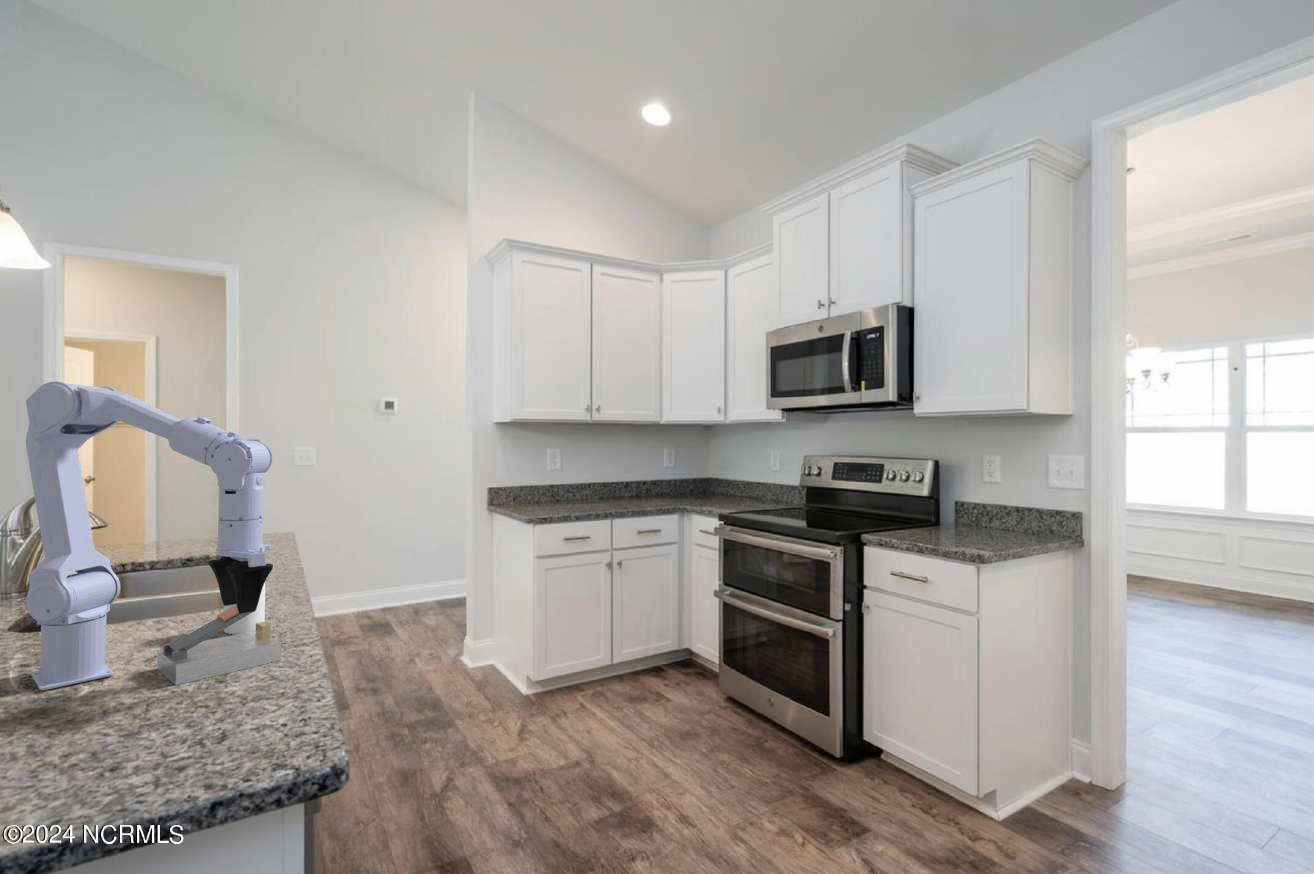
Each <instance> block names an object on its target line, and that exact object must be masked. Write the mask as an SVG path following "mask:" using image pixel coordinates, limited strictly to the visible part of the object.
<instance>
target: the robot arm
mask: <svg viewBox="0 0 1314 874" xmlns="http://www.w3.org/2000/svg"><path fill="white" fill-rule="evenodd" d="M25 403H26V404H25V405H26V410H27V411H26V412H27V417H28V423H29V424H28V429H27V433H26V437H25V447H26V453H27V454H26V455H27V459H28V463H29V464H28V465H29V470H30V477H31V482H32V490H33V494H34V495H33V497H34V500H35V508H36V513H37V519H38V524H39V525H38V527H39V530H40V531H39V532H40V536H41V542H42V544H41V545H42V548H43V555H44V559H43V560H42V561H41V562H40V563H39V564H38V565H37V566H36V567H35V568H34V569H33V570H32V571H30V573H29V574H28V583H29V586H28V587H29V588H28V591H27V594H26V599H25V607H26V609H27V612H28V614H29V615H30V616H31V617H32V618H33V619H34V621H36V625H38V626H39V625H40V650H39V651H40V654H39V655H40V656H39V657H40V660H39V661H40V663H39V666H40V667H39V670H35V671H33V672H31V673H30V676H31V678H32V679H33V681H34V682H35V684H36V686H37V688H38V689H39V691H45V690H46V691H47V690H51V689H57V688H61V687H65V686H70V685H75V684H79V683H84V682H88V681H93V680H97V679H103V678H108V677H111V676H113V675H114V671H113V670H112V669H111V668H110V667H109V666H108V665H107V664H106V659H107V658H106V657H107V656H106V654H107V613H108V612H110V611H111V608H110V606H111V605H112V604H113V603H114V602H116V601H117V599H118V597H119V595H120V593H121V581H120V580H119V577H118V575H116V573H115V572H114V570H113V568H112V567H111V566H112V565H111V561H110V559H109V558H108V557H107V556H106V555H104V554H102V553H100V552H99V551H97V550H96V548H95V545H94V539H93V533H92V527H91V526H92V525H91V522H90V513H89V510H88V504H87V503H88V502H87V497H86V491H85V485H84V480H83V473H82V472H83V471H82V469H81V463H80V462H81V461H80V455H79V449H80V448H81V447H82V446H83V445H84V444H85V443H86V442H87V441H88V440H89V439H91V438H93V437H95V436H97V435H99V434H100V433H103V432H104V431H106V430H108V429H109V428H111V427H113V426H114V425H117V423H119V422H122V423H124V424H127V425H130V426H132V427H135V428H137V429H141V430H143V431H145V432H147V433H152V434H154V435H156V436H158V437H161V438H163V439H167V440H168V445H169V448H170V449H171V450H172V451H173V452H176V453H178V454H180V455H182V456H185V457H187V458H189V459H192V460H194V461H197V462H199V463H201V464H203V465H206V466H208V467H210V468H211V471H213V473H214V474H215V476H216V479H217V486H218V521H217V522H218V524H217V525H218V526H217V527H218V528H217V545H216V546H217V547H216V549H215V550H216V551H215V554H216V556H219V559H211V560H208V566H209V567H210V569H211V570H212V572H213V574H214V576H215V579H216V582H217V585H218V588H219V593H220V598H221V602H222V605H223V607H224V606H228V605H234V604H237V609H238V612H239V613H240V614H242V613H248V612H253V611H256V609H257V606H258V602H259V598H260V595H261V591H262V588H263V585H264V583H265V584H266V581H267V578H268V577H269V575H270V573H271V572H272V571H273V569H274V564H272V563H267V562H266V561H267V560H266V559H267V557H266V556H267V553H266V551H270V550H272V545H271V544H268V543H265V544H264V509H265V508H264V506H265V505H264V500H265V499H264V498H265V497H264V495H265V494H264V492H265V473H266V472H268V471H269V470H270V468H271V466H272V463H273V454H272V451H271V449H270V448H269V446H268V445H266V444H265V443H263V442H262V441H261V440H260V439H255V438H253V439H246V440H244V439H242V438H241V433H239V432H237V431H234V430H233V431H227V430H225V429H223V428H221V427H218V426H215V425H213V424H212V422H213V420H212V419H211V418H208V417H205V416H198V417H188V418H184V419H179V418H177V417H175V416H174V415H171V414H169V413H167V412H165V411H163V410H161V409H159V408H157V407H156V406H153V405H151V404H150V403H148V402H145V401H143V400H141V399H139V398H136V397H134V396H132V395H131V394H130V393H129V392H128V393H127V392H124V391H120V390H117V389H115V388H114V387H113V388H112V387H109V386H93V385H91V386H90V385H82V384H72V383H66V382H63V381H49V382H46V383H43V384H42V385H40V386H39V387H38V388H37V389H36V390H35V391H34V392H33V393H32V394H31V395H30V396H29V397H28V398H27V399H26V400H25ZM73 572H75V573H73ZM71 573H73V574H71Z"/></svg>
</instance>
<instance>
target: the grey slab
mask: <svg viewBox="0 0 1314 874" xmlns="http://www.w3.org/2000/svg"><path fill="white" fill-rule="evenodd" d="M253 612H254V611H253ZM251 613H252V612H248V613H242V614H240V613H239V612H238V609H237V605H234V606H232V607H231V608H229V609H227V610H225V611H224V610H223V611H222V612H220V613H218V614H217V615H216V618H214V619H213V620H211V621H209V622H207V623H206V624H204V625H202V626H201V627H199V628H197V629H196V630H194V631H191V632H190V633H188V634H187V635H185V636H183V637H182V638H179V639H178V640H176V641H174V642H171V643H172V644H171V645H169V647H170V649H171V650H172V651H178V650H183V649H186V650H187V651H188V650H189V649H191V648H193V647H194V646H196V645H198V644H199V643H201V642H203V641H206V640H209V639H210V638H211V637H213V636H215V635H216V634H218V633H220V632H221V631H224V629H225V628H227V627H228V626H230V625H232V624H234V623H235V622H237V621H239V620H240V619H242V618H244V617H246V616H247V615H249V614H251Z"/></svg>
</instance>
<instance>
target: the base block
mask: <svg viewBox="0 0 1314 874" xmlns="http://www.w3.org/2000/svg"><path fill="white" fill-rule="evenodd" d="M172 643H173V642H170V643H165V644H162V649H157V661H156V662H157V664H156V670H157V671H159V672H160V673H161V674H162V673H163V674H162V675H163V676H164V675H165V676H164V677H165V678H167V679H168V680H169V681H170V682H171V683H172V684H174V685H175V686H178V685H184V684H187V683H192V682H195V681H199V680H204V679H208V678H212V677H216V676H220V675H226V674H228V673H229V674H230V673H233V672H237V671H243V670H246V669H251V668H254V667H259V666H263V665H267V664H268V665H269V664H272V663H275V662H280V661H282V641H280V640H278V639H276V638H274V637H272V636H271V624H269V623H267V622H266V621H265V622H259V623H256V631H251V632H246V633H241V634H236V635H225V636H222V637H221V636H220V637H218V638H212V639H206V640H205V641H203V642H201V643H199V644H198V645H196V646H194V647H193V648H191V649H189V650H188V651H187V650H186V649H183V650H178V651H172V650H171V649H170V647H169V645H171V644H172ZM271 662H272V663H271Z"/></svg>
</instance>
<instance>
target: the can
mask: <svg viewBox="0 0 1314 874" xmlns="http://www.w3.org/2000/svg"><path fill="white" fill-rule="evenodd" d="M234 605H237V604H234ZM234 605H228V606H224V605H223V612H224V611H225V610H227V609H229V608H231V607H232V606H234ZM265 613H266V582H265V583H264V585H263V588H262V591H261V595H260V598H259V602H258V606H257V609H256V611H254V612H252V613H251V614H249V615H247V616H246V617H244V618H242V619H240V620H239V621H237V622H235V623H234V624H232V625H230V626H228V627H227V628H225V629H223V632H224V633H225V634H226V635H229V634H233V635H236V634H241V633H246V632H251V631H256V623H259V622H266V621H265V620H266V617H265V616H266V615H265Z"/></svg>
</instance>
